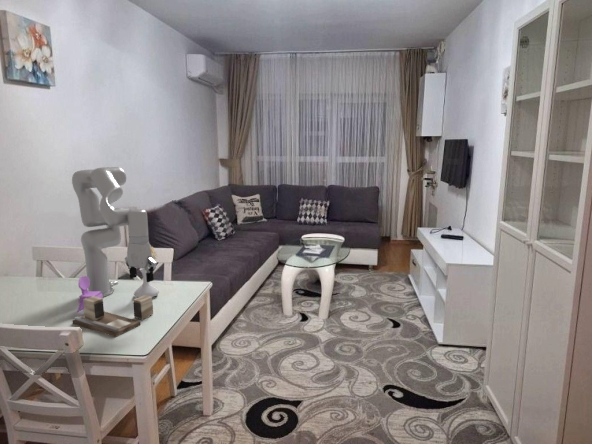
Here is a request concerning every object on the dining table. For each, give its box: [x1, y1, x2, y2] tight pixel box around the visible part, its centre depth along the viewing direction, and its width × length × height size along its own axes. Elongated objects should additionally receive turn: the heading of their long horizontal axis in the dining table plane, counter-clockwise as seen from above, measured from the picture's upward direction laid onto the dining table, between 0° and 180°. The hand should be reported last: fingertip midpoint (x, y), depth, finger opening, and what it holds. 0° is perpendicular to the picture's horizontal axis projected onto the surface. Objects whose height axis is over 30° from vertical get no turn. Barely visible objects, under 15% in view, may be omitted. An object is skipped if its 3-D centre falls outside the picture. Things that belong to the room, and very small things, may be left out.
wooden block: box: [132, 295, 154, 320], centre depth 174 cm, size 4×7×8 cm
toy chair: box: [76, 275, 104, 313], centre depth 180 cm, size 8×9×15 cm
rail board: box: [72, 296, 141, 338], centre depth 165 cm, size 12×25×10 cm, turn 63°
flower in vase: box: [133, 244, 160, 299], centre depth 196 cm, size 13×11×25 cm
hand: (141, 279), depth 171 cm, fingers open, 9 cm apart
